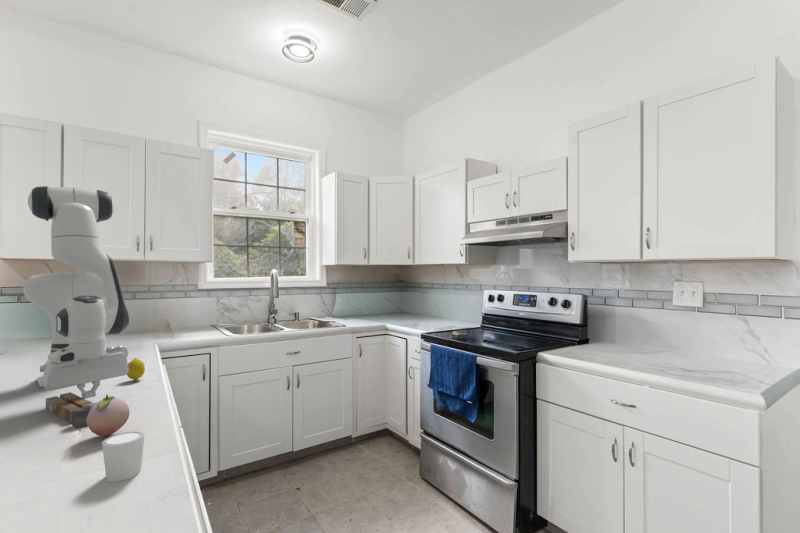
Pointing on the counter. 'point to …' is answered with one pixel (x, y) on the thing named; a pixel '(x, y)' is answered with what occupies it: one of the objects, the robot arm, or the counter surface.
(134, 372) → the lemon
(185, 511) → the counter surface
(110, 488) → the counter surface
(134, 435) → the shot glass
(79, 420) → the tongs base
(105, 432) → the decorative fruit
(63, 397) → the tongs arm
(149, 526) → the counter surface
